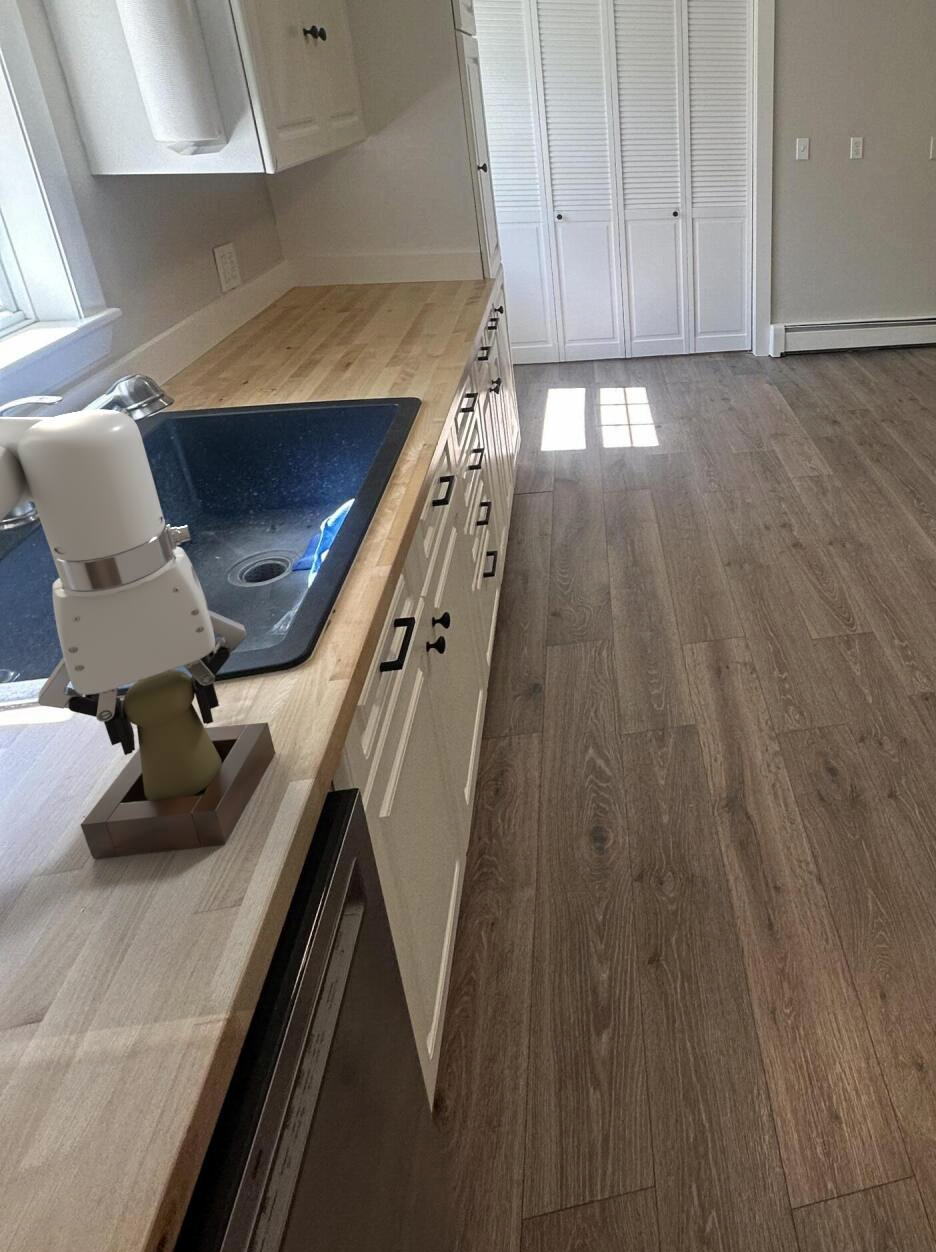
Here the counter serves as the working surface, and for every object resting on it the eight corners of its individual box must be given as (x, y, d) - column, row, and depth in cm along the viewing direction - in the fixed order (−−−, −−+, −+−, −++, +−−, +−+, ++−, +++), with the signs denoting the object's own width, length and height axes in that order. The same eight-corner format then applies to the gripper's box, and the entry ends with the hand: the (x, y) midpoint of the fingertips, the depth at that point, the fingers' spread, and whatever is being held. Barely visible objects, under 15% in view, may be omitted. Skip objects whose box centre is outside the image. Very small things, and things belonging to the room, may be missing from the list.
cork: (185, 808, 71) (155, 709, 67) (127, 799, 72) (93, 701, 68) (237, 756, 76) (211, 663, 73) (182, 749, 77) (154, 656, 73)
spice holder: (92, 859, 69) (80, 825, 68) (161, 764, 79) (151, 732, 78) (225, 844, 71) (215, 810, 69) (275, 753, 81) (268, 721, 79)
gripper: (230, 510, 74) (269, 669, 80) (-18, 571, 64) (49, 748, 70) (241, 543, 68) (282, 711, 74) (-28, 616, 58) (45, 804, 64)
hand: (168, 727), depth 72 cm, fingers closed on cork, 5 cm apart
